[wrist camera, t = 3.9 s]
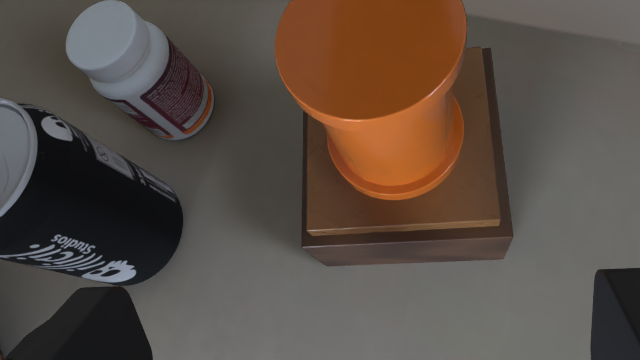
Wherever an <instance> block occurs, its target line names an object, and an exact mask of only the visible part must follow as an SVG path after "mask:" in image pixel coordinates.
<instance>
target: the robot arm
mask: <svg viewBox="0 0 640 360" xmlns="http://www.w3.org/2000/svg"><path fill="white" fill-rule="evenodd" d="M5 360H153V356H152V350H151V347H150V344H149V342H148V339H147V337H146V334H145V332H144V329H143V327H142V324H141V322H140V319H139V317H138V314H137V312H136V309H135V307H134V304H133V302H132V299H131V297H130V295H129V293H128V292H127V290H126V289H124V288H123V287H120V286H113V287H87V288H80V289H78V290H77V291H75V292H74V293H73V294H72V295H71V296H70V297H69V299H68V300H67V301H66V302H65V303H64V304H63V305H62V306H61V307H60V308H59V310H58V311H57V312H56V313H55V314H54V315H53V316H52V317H51V318H50V319H49V320H47V321H46V322H45V323H43V324H42V325H40V326H39V327H38V328H36V329H35V330H33V331H32V332H31V333H29V334H28V335H26V336H25V337H24V338H23V339H22V341H21V342H20V343H19V344H18V345H17V346H16V347H15V348H14V349H13V350H12V351H11V352H10V353H9V354H8V356H7V357H6V358H5ZM591 360H640V268H627V269H600V270H597V272H596V275H595V280H594V295H593V312H592V329H591Z"/></svg>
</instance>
